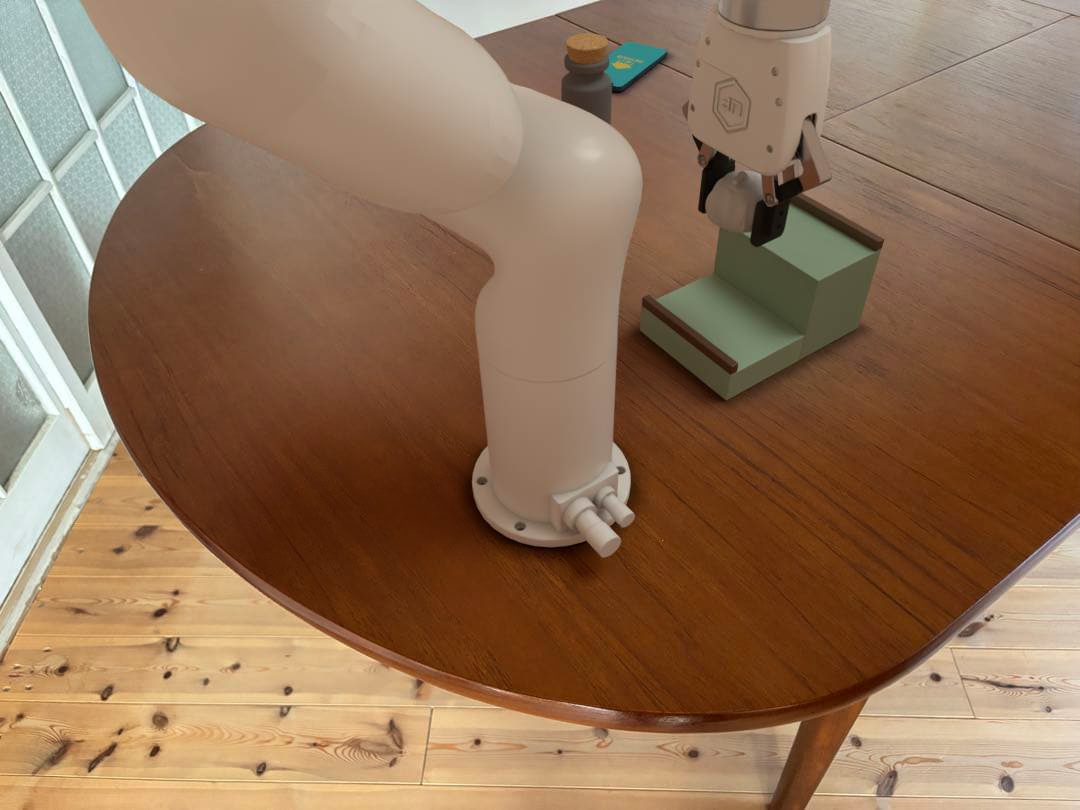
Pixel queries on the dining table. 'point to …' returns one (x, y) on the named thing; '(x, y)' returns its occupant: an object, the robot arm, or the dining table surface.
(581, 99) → the bottle
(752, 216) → the garlic
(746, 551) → the dining table surface
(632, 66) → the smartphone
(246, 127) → the robot arm
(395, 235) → the dining table surface
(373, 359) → the dining table surface
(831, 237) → the shelf
